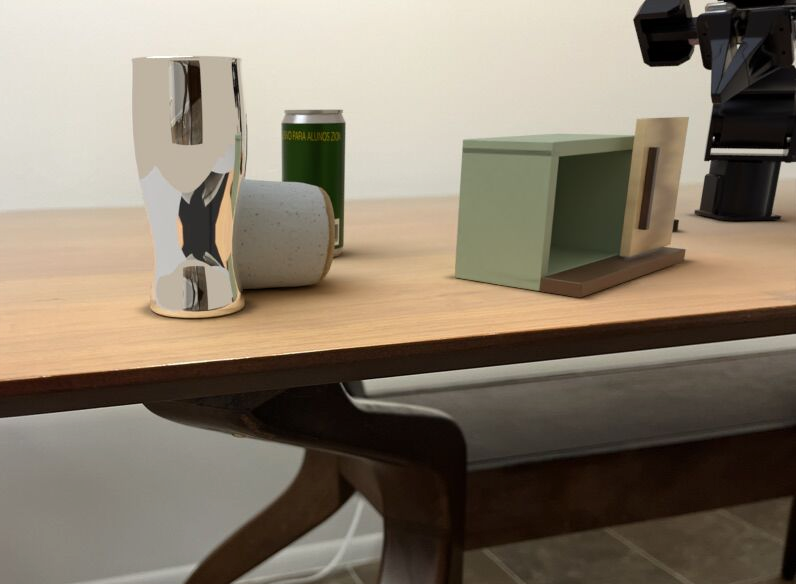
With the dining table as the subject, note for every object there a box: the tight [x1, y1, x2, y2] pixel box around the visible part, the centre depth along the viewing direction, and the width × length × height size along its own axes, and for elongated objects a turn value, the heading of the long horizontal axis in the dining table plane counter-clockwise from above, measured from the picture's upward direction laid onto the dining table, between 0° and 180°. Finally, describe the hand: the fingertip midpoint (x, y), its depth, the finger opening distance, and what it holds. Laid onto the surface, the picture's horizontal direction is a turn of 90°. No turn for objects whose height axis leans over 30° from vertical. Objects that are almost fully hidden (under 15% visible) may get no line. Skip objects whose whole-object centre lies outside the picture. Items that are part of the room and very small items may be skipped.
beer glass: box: [130, 55, 249, 319], centre depth 50 cm, size 7×7×15 cm
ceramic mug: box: [237, 178, 335, 290], centre depth 59 cm, size 11×8×8 cm
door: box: [620, 116, 690, 257], centre depth 63 cm, size 8×1×10 cm, turn 135°
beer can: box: [280, 109, 347, 258], centre depth 69 cm, size 5×5×12 cm
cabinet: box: [454, 133, 687, 299], centre depth 62 cm, size 18×10×10 cm, turn 135°
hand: (715, 99), depth 68 cm, fingers closed
